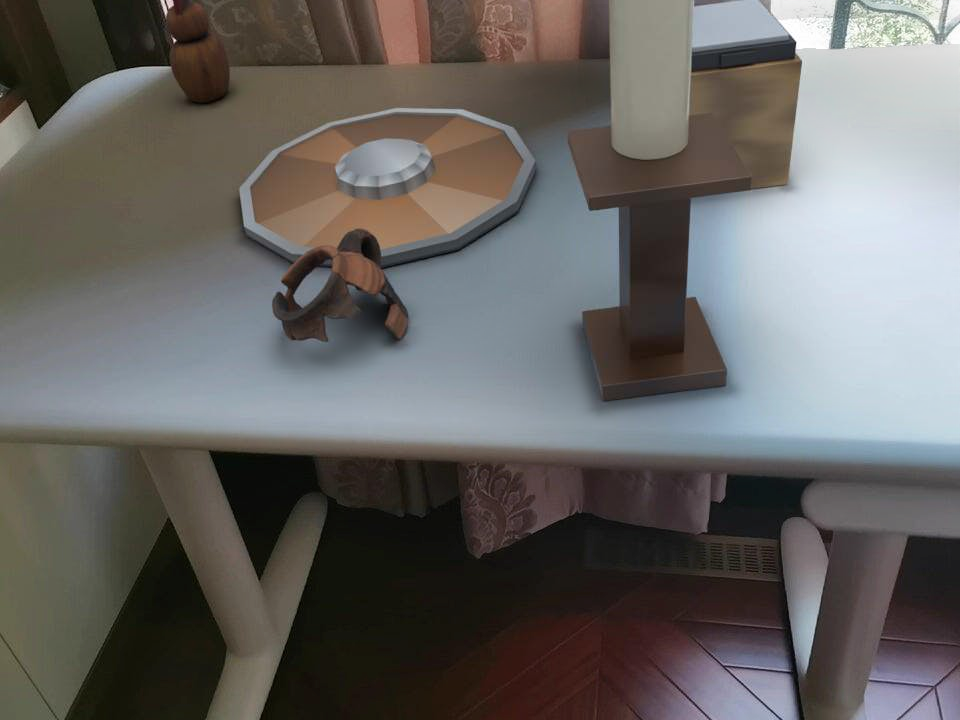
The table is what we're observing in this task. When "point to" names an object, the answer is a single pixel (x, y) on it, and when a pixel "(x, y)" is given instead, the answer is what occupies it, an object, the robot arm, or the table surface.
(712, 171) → the stand
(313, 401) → the table surface
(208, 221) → the table surface
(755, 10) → the scale
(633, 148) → the cream pillar candle
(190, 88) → the wooden figurine
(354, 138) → the shield
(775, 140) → the crate
